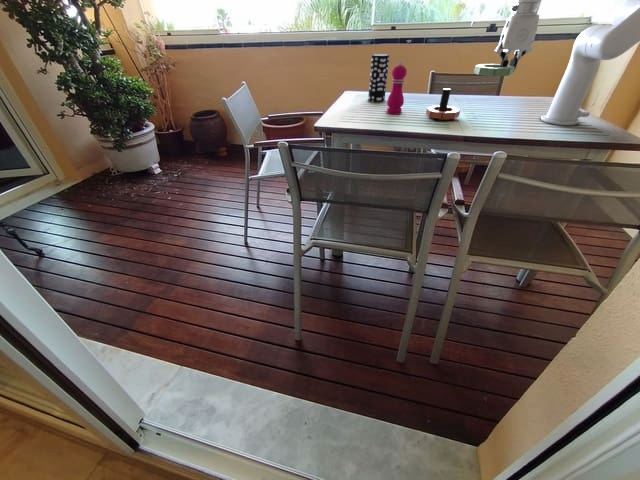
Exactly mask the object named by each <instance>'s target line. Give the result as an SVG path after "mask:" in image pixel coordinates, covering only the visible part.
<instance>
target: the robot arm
mask: <svg viewBox="0 0 640 480" xmlns="http://www.w3.org/2000/svg"><path fill="white" fill-rule="evenodd" d="M541 3H542V0H515V2H514V4H513V5H511V6H510V7H509V12H511V14H510V15H509V16H508V18H507V20H506V22H505V25H504V27H503V29H502V32H501V35H500V39H499V41H498V45H497V47H496V48H495V49H494V53H496V54H497V55H499V57H500V60H501V62H500V64H501V65H500V67H507V66H508V65H511V66H515V68H514V71H513V73H514V72H515V70H516V69H517V66H518V62H519V61H520V60H521V58H523V57H524V55H526V54H528V53H530V52H532V50H533V44H534V42H535V38H536V35H537V31H538V28H539V27H538V26H539V21H540V14H538V13H539V9H540V7H541ZM609 21H610V24H606V23H605V24H595V25H591V26H589V27H587V28H585V29H584V30H583V31H581V32H580V33H579V35H578V36H577V37H576V39H575V41H574V43H573V46H572V50H571V55H570V57H569V58H570V59H569V60H568V61H569V62H568V64H567V66H566V69H565V71H564V73H563V76H562V78H561V81H560V83H559V85H558V88H557V90H556V92H555V94H554V97H553V99H552V102H551V103H550V107H549V109H548V111H547V113H546V114H542V115H541V117H540V120H541V121H543V122H545V123H548V124H551V125H557V126H558V125H559V126H575V125H578V124H579V122H580V120H579V118H581V117H582V118H588V117H589V116H590V114H591V113H590V111H582V110H581V107H582V106H583V103H584V101H585V100H586V97H587V95H588V93H589V91H590V89H591V88H592V85H593V84H594V81H595V79H596V76H597V75H598V72H599V69H600V66H601V61H611V60H613V59H617V58H618V57H620V56H622V55H623V54H625V53H626V52H627V51H629V50H631V48H633V47H634V46H635V45H637V44H638V43H640V0H624V1H622V2H621V3H620V4H619V5H618V6H617V7H616V8H615V9H614V10H613V12H612V13H611V16H610V19H609ZM511 51H514V53H513V56H512V58H511V59H510V61H509V57H510V54H511Z"/></svg>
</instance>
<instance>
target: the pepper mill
mask: <svg viewBox="0 0 640 480" xmlns="http://www.w3.org/2000/svg"><path fill="white" fill-rule="evenodd" d="M403 64H404V63H403V61H402V60H400V61H398V62H397V65H396V66H394V67H393V68H392V71H391V76H392V78H391V79H392V80H391V83H392V87H391V90H390V94H389V95H388V97H387V100H386V105H387V108H386V113H387V114H388V115H401V113H402V109H403V108H402V107H403V105H404V103H405V98H404V93H403V84H404V83H405V77H406V76H407V75H408V69H407V67H405V66H404V65H403Z"/></svg>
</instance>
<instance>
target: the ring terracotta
mask: <svg viewBox="0 0 640 480" xmlns="http://www.w3.org/2000/svg"><path fill="white" fill-rule="evenodd" d="M439 106H440V105H431V106H427V107H426V112H425V114H426V115H427V117H429V118H431V117H432V118H437V119H454V120H455V119H457V118H459V117H460V115H461V114H460V113H461V110H460V108H457V107H455V106H450V105H447V109H446V111H445V112H443V111H438V110H439ZM432 118H431V119H432Z"/></svg>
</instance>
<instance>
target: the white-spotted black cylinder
mask: <svg viewBox="0 0 640 480" xmlns="http://www.w3.org/2000/svg"><path fill="white" fill-rule="evenodd" d="M389 63H390V54H388V53H387V54H386V53H373V54H371V59H370V74H369V85H368V97H367V98H368V99H367V100H368V102H369V103H383V102H385V101H386V92H387V91H386V90H387V84H388V83H387V82H388V74H389Z"/></svg>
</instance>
